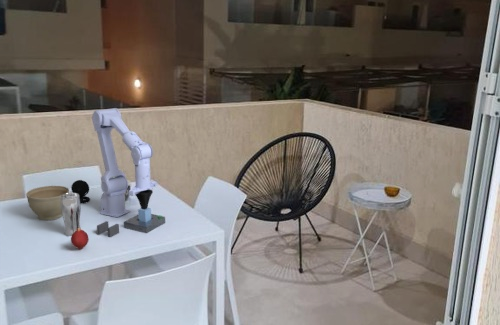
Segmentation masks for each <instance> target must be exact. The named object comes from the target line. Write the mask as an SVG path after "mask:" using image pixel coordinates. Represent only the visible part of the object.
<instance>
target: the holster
mask: <svg viewBox="0 0 500 325" xmlns="http://www.w3.org/2000/svg"><path fill="white" fill-rule="evenodd" d="M96 230H97V231H96V232H97V235H102V234H104V233H106V232H107V237H108V238H112V237H114V236H115V235H118V234H120V224H119V223H115V224H112V225H111V226H109V221H104V222H101V223H100V224H97V225H96Z"/></svg>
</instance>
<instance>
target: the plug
mask: <svg viewBox="0 0 500 325" xmlns="http://www.w3.org/2000/svg"><path fill="white" fill-rule="evenodd" d="M151 214H152V208H150V207H147V209H142V208H141V207H140V208H139V209H138V210H137V215H138V218H139V221H141V222H148V221H150V220H151Z"/></svg>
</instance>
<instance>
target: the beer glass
mask: <svg viewBox="0 0 500 325" xmlns="http://www.w3.org/2000/svg"><path fill="white" fill-rule="evenodd" d="M60 198H61V199H60V204H61V212H62V216H61V217H62V218H63V223H64V233H63V234H64V235H65V236H67V237H72V235H73V233H74V232H75V231H77V229H78V228H80V229H81V223H80V221H81V211H82V210H81V208H82V207H81V204H80V198H79V194H78V193H73V192H69V193H66V194H63V195H61V196H60ZM81 230H82V229H81Z"/></svg>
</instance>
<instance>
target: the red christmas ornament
mask: <svg viewBox="0 0 500 325" xmlns="http://www.w3.org/2000/svg"><path fill="white" fill-rule="evenodd" d="M80 228H81V227H80ZM80 228H78V229H77V231H75V232H74V233H73V235H72V236H70V242H71V245H72V246H73V247H74V248H76V249H78V250H82V249H83V248H85V247H86V246H87V245H88V243H89V241H90V240H89V235H88V234H87V232H86V231H84V230H83V229H80Z"/></svg>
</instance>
